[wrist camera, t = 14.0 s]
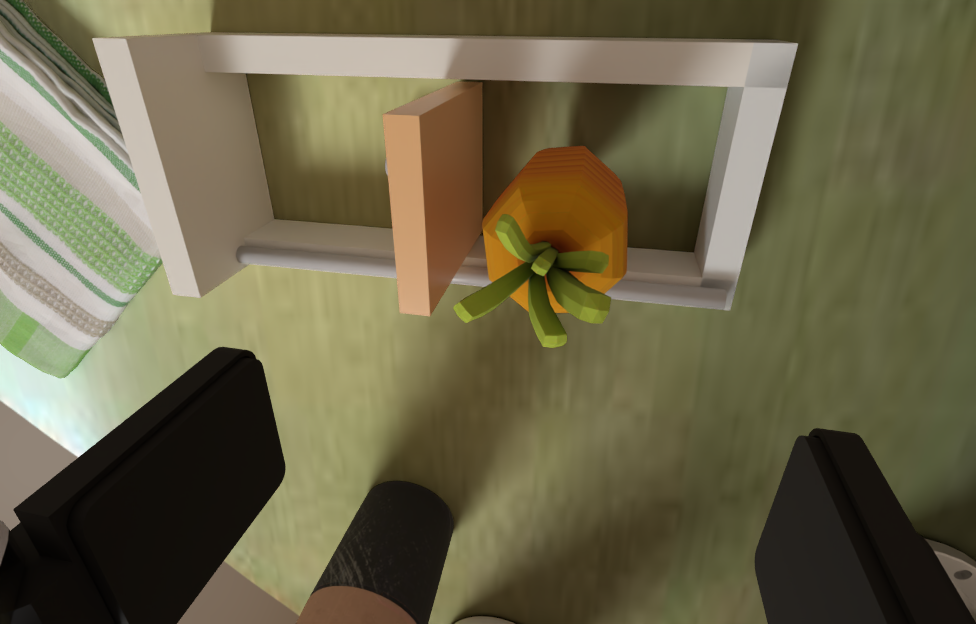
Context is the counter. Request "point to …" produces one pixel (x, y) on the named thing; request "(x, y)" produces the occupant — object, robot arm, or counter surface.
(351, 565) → the travel mug
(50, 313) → the dish towel
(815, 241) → the counter surface
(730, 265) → the frame
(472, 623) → the fruit juice
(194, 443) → the robot arm
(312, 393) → the counter surface
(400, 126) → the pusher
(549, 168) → the carrot
